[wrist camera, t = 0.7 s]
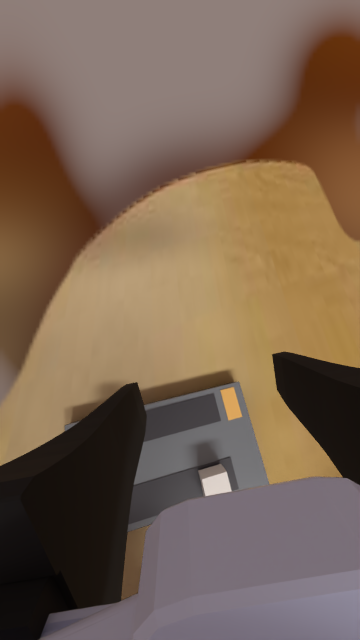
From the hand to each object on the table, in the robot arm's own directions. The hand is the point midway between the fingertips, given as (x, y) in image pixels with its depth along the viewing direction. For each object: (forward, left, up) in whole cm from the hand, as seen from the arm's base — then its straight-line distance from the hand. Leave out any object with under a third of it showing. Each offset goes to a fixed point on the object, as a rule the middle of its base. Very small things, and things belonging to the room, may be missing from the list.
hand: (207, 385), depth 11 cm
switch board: (-8, +4, -22) cm, 23 cm away
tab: (-12, -1, -19) cm, 23 cm away
